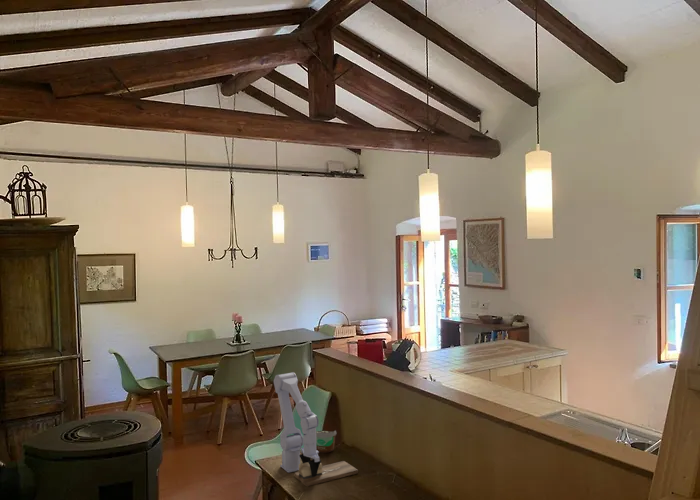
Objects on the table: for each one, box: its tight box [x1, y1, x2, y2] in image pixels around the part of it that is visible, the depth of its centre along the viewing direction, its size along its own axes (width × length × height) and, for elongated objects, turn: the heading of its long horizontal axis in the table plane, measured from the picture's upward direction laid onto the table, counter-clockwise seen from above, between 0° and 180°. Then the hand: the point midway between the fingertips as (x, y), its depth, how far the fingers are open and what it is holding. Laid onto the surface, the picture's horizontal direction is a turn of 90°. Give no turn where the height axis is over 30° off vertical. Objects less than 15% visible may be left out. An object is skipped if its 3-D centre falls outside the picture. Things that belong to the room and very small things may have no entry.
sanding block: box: [298, 462, 323, 479], centre depth 243 cm, size 5×9×5 cm, turn 121°
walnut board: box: [293, 460, 359, 487], centre depth 247 cm, size 13×26×2 cm, turn 121°
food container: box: [316, 429, 338, 454], centre depth 277 cm, size 12×6×10 cm, turn 81°
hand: (310, 473), depth 243 cm, fingers open, 7 cm apart
